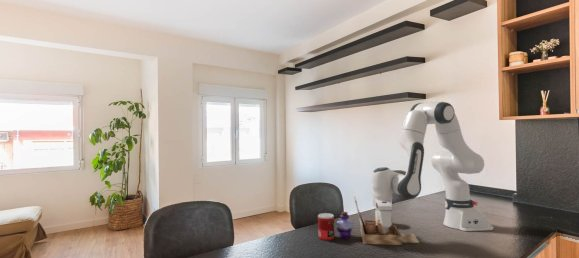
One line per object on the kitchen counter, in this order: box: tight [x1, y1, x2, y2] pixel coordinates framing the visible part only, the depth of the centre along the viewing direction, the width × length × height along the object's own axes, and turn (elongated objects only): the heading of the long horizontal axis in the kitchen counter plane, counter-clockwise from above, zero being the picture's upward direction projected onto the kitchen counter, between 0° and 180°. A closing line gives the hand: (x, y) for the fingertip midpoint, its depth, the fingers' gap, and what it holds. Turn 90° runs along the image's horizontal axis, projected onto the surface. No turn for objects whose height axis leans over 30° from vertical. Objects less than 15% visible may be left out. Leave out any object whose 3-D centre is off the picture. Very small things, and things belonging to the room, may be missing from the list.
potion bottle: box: [335, 211, 354, 240], centre depth 142 cm, size 9×9×12 cm
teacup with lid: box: [374, 206, 393, 225], centre depth 160 cm, size 12×9×12 cm
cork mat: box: [400, 233, 420, 244], centre depth 137 cm, size 7×10×1 cm
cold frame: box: [352, 193, 403, 246], centre depth 139 cm, size 20×15×20 cm
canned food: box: [317, 212, 336, 241], centre depth 141 cm, size 8×8×11 cm
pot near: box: [377, 220, 389, 235], centre depth 139 cm, size 6×6×7 cm
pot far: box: [363, 218, 376, 235], centre depth 143 cm, size 6×6×7 cm
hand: (383, 230), depth 139 cm, fingers closed on pot near, 5 cm apart
